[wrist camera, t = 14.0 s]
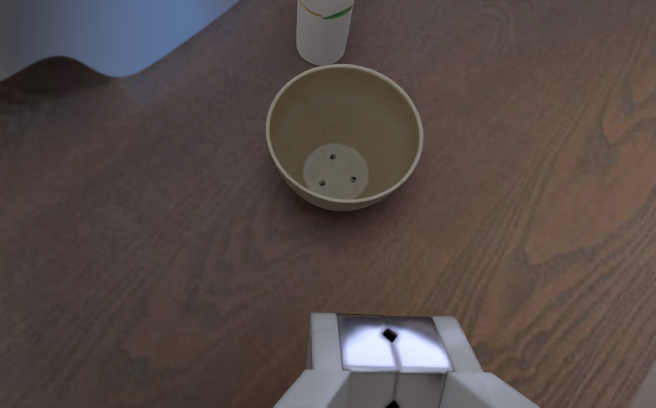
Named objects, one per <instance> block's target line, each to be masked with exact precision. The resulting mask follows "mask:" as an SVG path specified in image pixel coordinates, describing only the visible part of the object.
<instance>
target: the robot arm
mask: <svg viewBox="0 0 656 408" xmlns="http://www.w3.org/2000/svg"><path fill="white" fill-rule="evenodd" d="M273 408H540V407H539V406H537V405H536V404H535V403H533V402H532V401H530V400H529V399H527V398H526V397H525V396H523V395H522V394H520V393H519V392H518V391H516V390H515V389H513V388H512V387H511V386H509V385H508V384H506V383H505V382H504V381H502V380H501V379H499V378H498V377H497V376H495V375H494V374H492V373H486V372H483V370H482V368H481V366H480V364H479V362H478V360H477V358H476V356H475V354H474V352H473V350H472V348H471V346H470V344H469V342H468V340H467V338H466V336H465V334H464V332H463V331H462V329H461V327H460V325H459V323H458V321H457V319H456V318H455V317H453V316H429V317H412V316H383V315H364V314H343V313H336V314H335V313H314V312H311V315H310V323H309V336H308V350H307V366H306V370H304V372H303V373H302V374H301V375H300V376H299V377H298V379H297V380H296V381H295V382H294V383H293V385H292V386H291V387H290V388H289V389H288V390H287V392H286V393H285V394H284V395H283V396H282V397H281V399H280V400H279V401H278V402H277V403H276V405H275V406H274V407H273Z"/></svg>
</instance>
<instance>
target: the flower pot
mask: <svg viewBox="0 0 656 408" xmlns="http://www.w3.org/2000/svg"><path fill="white" fill-rule="evenodd" d="M266 138H267V144H268V148H269V151H270V154H271V157H272V159H273V161H274V163H275V166H276V167H277V169H278V171H279V173H280V174H281V176H282V177H283V179H284V180H285V181H286V183H287V184H288V185H289V186H290V187H291V188H292V189H293V190H294V191H295V192H296V193H297V194H298V195H299V196H300V197H302V198H303V199H304V200H306V201H308V202H309V203H311V204H313V205H315V206H317V207H320V208H323V209H327V210H332V211H352V210H357V209H362V208H365V207H368V206H370V205H373V204H375V203H377V202H379V201H381V200H382V199H384V198H386V197H387V196H389V195H390V194H391V193H393V192H394V191H395V190H396V189H398V188H399V187H400V186H401V185H402V184H403V183H404V182H405V181H406V180H407V179H408V177H409V176H410V175H411V173H412V172H413V171H414V169H415V167H416V166H417V164H418V161H419V159H420V156H421V153H422V149H423V126H422V122H421V118H420V115H419V113H418V111H417V109H416V107H415V105H414V103H413V102H412V100H411V99H410V97H409V96H408V95H407V94H406V92H405V91H404V90H403V89H402V88H401V87H399V86H398V85H397V84H396V83H395V82H394V81H392V80H391V79H389V78H388V77H386V76H384V75H382V74H380V73H379V72H376V71H374V70H371V69H368V68H365V67H361V66H357V65H350V64H330V65H324V66H319V67H316V68H313V69H310V70H307V71H305V72H303V73H301V74H299V75H297V76H296V77H294V78H293V79H292V80H290V81H289V82H288V83H287V84H285V85H284V86H283V87H282V89H281V90H280V91H279V92H278V94H277V95H276V97H275V98H274V100H273V102H272V104H271V106H270V109H269V112H268V115H267V121H266ZM330 156H331V157H332V158H333V159H331V158H330ZM352 177H354V178H356V179H352ZM322 184H325V185H323V186H322Z"/></svg>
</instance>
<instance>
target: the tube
mask: <svg viewBox="0 0 656 408" xmlns="http://www.w3.org/2000/svg"><path fill="white" fill-rule="evenodd" d="M353 4H354V0H298V4H297V38H296V46H297V50H298V52H299V54H300V56H301V57H302V58H303V59H304V60H306V61H307V62H309V63H311V64H314V65H320V66H324V65H330V64H333V63H335V62H337V61H338V60H339V59H341V58H342V56H343V54H344V52H345V48H346V42H347V37H348V31H349V26H350V20H351V15H352V9H353Z"/></svg>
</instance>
